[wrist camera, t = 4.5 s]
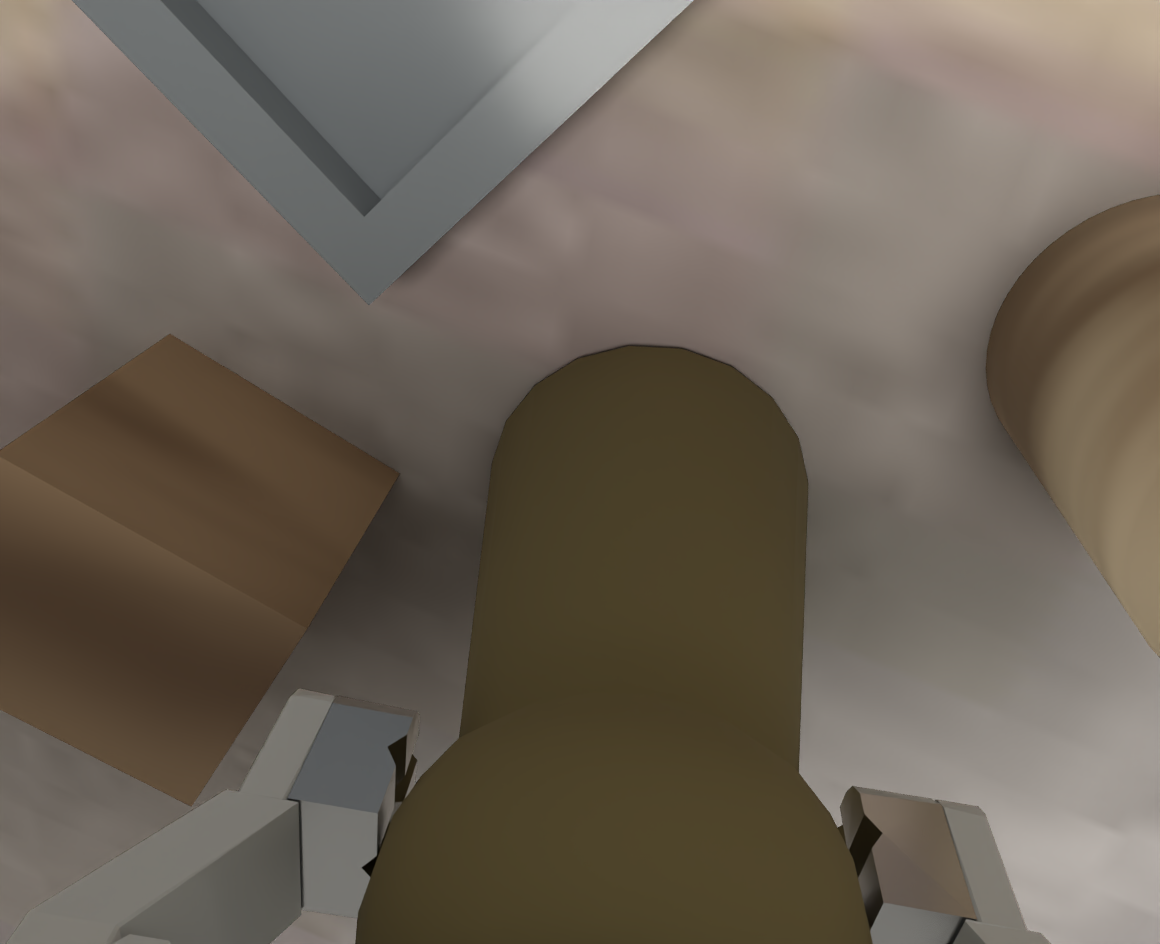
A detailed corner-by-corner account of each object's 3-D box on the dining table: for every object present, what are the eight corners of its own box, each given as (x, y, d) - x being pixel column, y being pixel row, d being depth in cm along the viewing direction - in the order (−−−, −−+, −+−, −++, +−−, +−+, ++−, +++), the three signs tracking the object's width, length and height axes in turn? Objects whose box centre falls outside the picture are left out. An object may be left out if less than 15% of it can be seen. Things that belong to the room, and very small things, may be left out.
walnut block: (299, 628, 20) (191, 806, 16) (92, 513, 20) (-82, 668, 15) (401, 471, 18) (307, 628, 14) (171, 332, 17) (-6, 453, 13)
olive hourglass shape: (659, 275, 15) (615, 774, 6) (874, 508, 17) (1111, 1190, 8) (427, 479, 18) (127, 1069, 8) (636, 666, 20) (588, 1335, 10)
